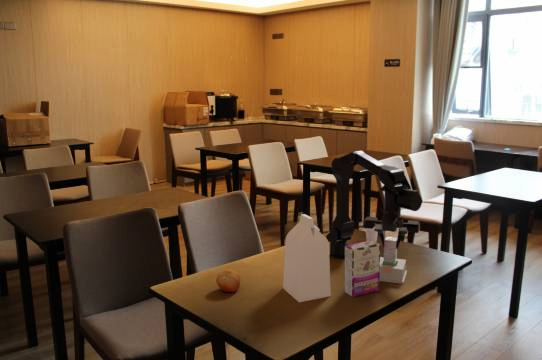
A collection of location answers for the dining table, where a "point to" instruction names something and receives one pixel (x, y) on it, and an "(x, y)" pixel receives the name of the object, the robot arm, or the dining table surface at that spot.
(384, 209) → the robot arm
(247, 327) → the dining table surface
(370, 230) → the smoothie
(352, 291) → the candy bar box
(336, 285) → the dining table surface
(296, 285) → the milk
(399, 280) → the stand base
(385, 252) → the column
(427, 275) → the dining table surface
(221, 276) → the fruit
